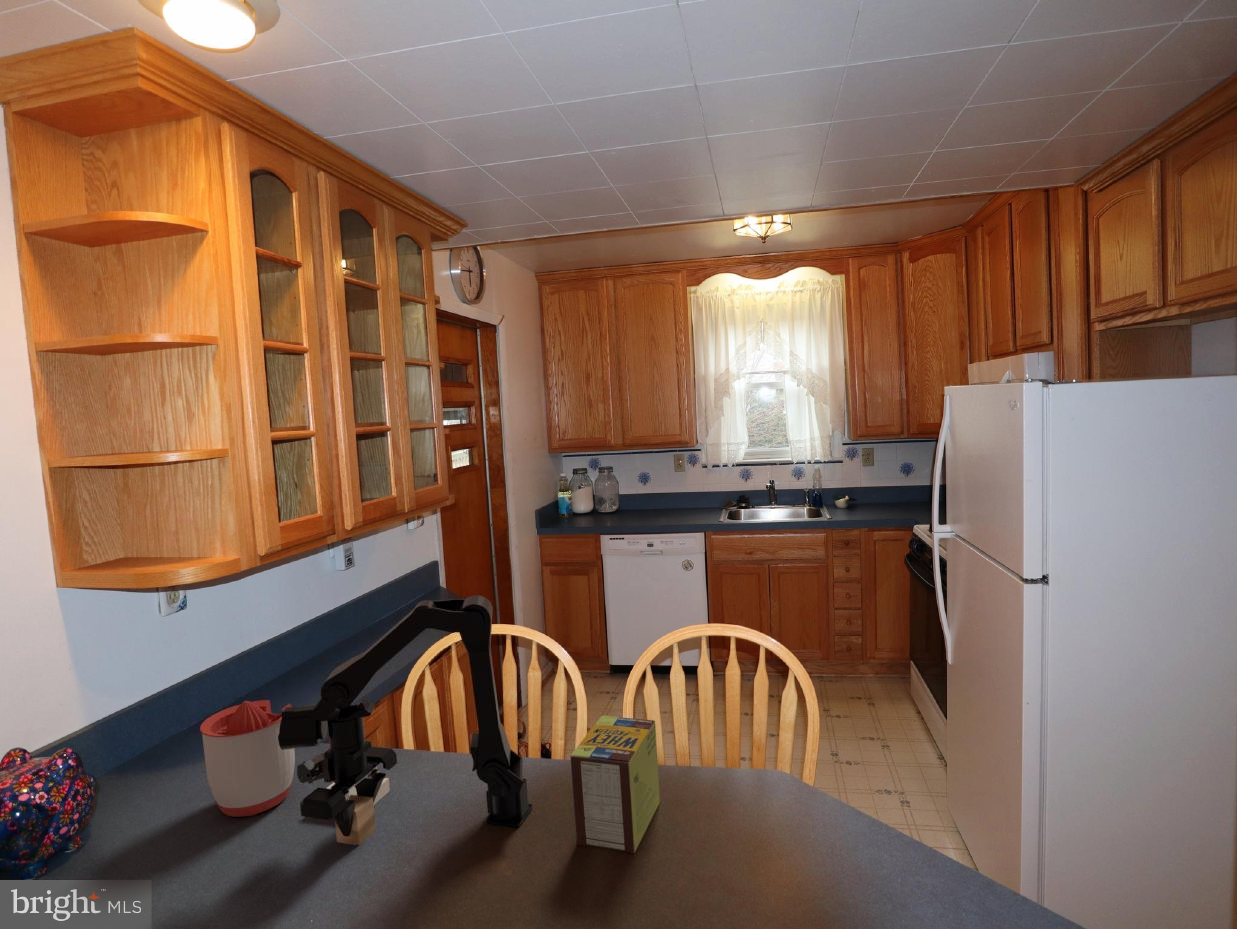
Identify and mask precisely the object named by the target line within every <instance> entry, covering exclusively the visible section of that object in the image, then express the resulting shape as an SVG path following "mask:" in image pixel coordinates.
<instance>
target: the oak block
mask: <svg viewBox="0 0 1237 929" xmlns="http://www.w3.org/2000/svg"><path fill="white" fill-rule="evenodd" d="M349 800H355V801H356V803H355V809H354V816H353V822H352V828H351V833H350V835H349V836H348V837H347V836H343V834H342V832H341V831H340V829H339V827H338V825H337V823H336V822H335V821H334V824H335V835H336V843H340V844H341V843H342V844H348V845H354V846H361V845H362V844H363V843H364V841H366V840H367V839H368V838H369V837H370V836H371V835H372V834H373V833H374V832H375V831H376V829H377V828H376V820H375V819H376V817H375V809H374V808H375V807H374V805H373V797H366V796H358V795H350V796H349Z"/></svg>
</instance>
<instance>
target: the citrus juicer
mask: <svg viewBox="0 0 1237 929" xmlns="http://www.w3.org/2000/svg"><path fill="white" fill-rule="evenodd" d="M286 707H293V706H292V704H291V703H288V704H287V705H285V706H284V707H283V708H281V712H282V711H283V710H284V709H285V708H286ZM281 719H282V716H281V713H280V714H276V713H273V712H272V709H271V701H270V699H268V700H267V699H266V700H264V699H262V700H256V701H255V700H254V701H249V700H244V701H243V702H241V704H237V705H234V706H231V707H228V708H225V709H223V710H220V711H219V712H216V713H214V714H212V715H211V716H209V717H208V718H206V719H204V721H202V723H201V724H200V728H199V731H200V733H201V734H202V735H201V736H202V737H201V738H202V744H203V751H204V761H205V762H204V763H205V770H206V771H205V772H206V776H207V781H208V785H209V787H210V790H211V793H212V795H213V797H214V799H215V803H216V805H217V806H218V809H220V810H221V812H222V813H223V814H224V815H226V816H228V817H237V818H239V817H240V818H241V817H253V816H255V815H257V814H259V813H262V812H263V813H264V812H265V811H268V810H270V809H272V808H274V807H275V806H277V805H279V804H280V803H282V802H283V801H284V800H285V799H286V798H287V796H289V792H290V790H291V786H292V784H293V778H294V772H295V764H296V757H295V756H296V754H295V749H286V750H282V749H281V748H280V746H279V742H278V735H279V729H280V723H281Z"/></svg>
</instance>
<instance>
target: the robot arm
mask: <svg viewBox="0 0 1237 929" xmlns="http://www.w3.org/2000/svg"><path fill="white" fill-rule="evenodd" d="M493 612H494V611H493V605H492V602H491V601H490V600H489V599H487V598H486V597H485V596H483V595H479V594H478V595H476V594H474V595H470V596H468V597H467V598H448V599H439V600H428V599H424V600H421V601H419V602H418V603H417V604H416V605H415V606H414V608H413V609H412V610H411V611H410V612H409V613H407V615H405V616H404V617H403V618H402V619H400V620H399V621H398V622H397V623H396V624H395V625H393V627H391V628H390V629H389V630H388V631H387V632H386V633H385V634H383V636H381V637H380V638H379V639H378V640H377V641H376V642H374V643H373V644H372V645H370V647H369V648H367V649H366V650H365V651H364V652H363V651H362V653H360V654H358V655H356V656H353V657H352V658H350V659H348V660H346V661H345V662H343V663H341V664H339V666H337V667H336V668H334V669H333V670H332V671H331V673H330V674H329V676H328V677H327V678H326V680H325V681H324V683H322V686H321V687H320V698H319V699H318V701H317V702H316V703H315V704H314V705H306V706H305V705H304V706H292V707H286V708H285V709H284V710H283V711H282V710H281V713H280V714H281V716H282V719H281V723H280V729H279V735H278V742H279V746H280V748H281V749H282V750H286V749H294V750H295V749H303V748H312V747H318V746H319V745H320V744H321V741H322V740H325V739H326V737H327V735H328V740H329V742H328V743H329V748H328V749H326V750H325V751H324V752H323V753H320V754H318V755H316V756H315V757H313V758H311V759H310V758H309V759H307V760H306V761H305V760H304V761H302V762H301V763H300V764H298V765H297V767H296V769H297V770H296V774H297V775H296V776H297V778H298V780H299V782H300V783H302V784H305V783H308V784H313V783H314V782H316V781H319V780H322V779H323V782H324V783H332V782H333V783H335V784H334V785H333V786H332V787H331V789H327V787H326V788H325V787H316V788H315V789H314V790H312V792H310V793H309V794H308V795H307V796H305V797H304V798H303V799H301V801H300V802H299V807H300V808H299V810H300V817H303V818H304V817H305V818H313V819H319V820H327V821H328V820H330V819H334V823H335V822H336V823H337V825H338V827H339V829H340V831H341V832H342V834H343V836H347V837H348V836H349V835H350V833H351V828H352V822H353V816H354V809H355V803H356V801H355V800H349V790H350V789H352V788H353V787H355V788H356V792H357V795H358V796H366V797H373V804H374V801H375V798H376V796H377V793H378V791H379V789H380V786H381V784H382V782H383V779H384V778H387V777H386V776H387V773H385V772H380V769H379V768H378V767H379V765H380V764H382V769H384V770H385V771H390V770H391V769H392V768H393V767H394V766H396V765H397V764H398V759H397V753H396V752H395V751H394V750H393V749H392V748H389V747H381V746H380V747H379V746H372V741H369V740H366V734H365V723H364V718H367V717H370V716H372V714H373V712H374V709H375V707H376V706H375V704H374V703H372V702H370V701H368V700H367V699H366V698H364V697H363V698H362V699H361V700H360V701H359V702H358V703H354V702H355V700H356V699H357V698H358V696H359V695H360V694H361V693H362V691H363V690H364V689H365V687H367V685H368V683H369V682H370V681H371V680H372V678H373V677H375V676H374V675H376V674H377V672H378V671H380V669H382V668H383V667H384V666H385V665H386V664H388V663H389V662H390V661H391V660H392V659H393V658H394V657H396V656H397V655H398V654H399V653H400V652H401V651H402V650H404V649H405V648H406V647H407V646H408V645H409V644H410V643H411V642H412V641H414V640H415V639H416V638H417V637H418V636H419V635H420V634H422V633H423V632H424V631H425V630H426V629H429V630H430V629H432V630H437V631H441V632H447V633H459V636H460V639H461V642H462V645H463V646H464V648H465V650H466V652H467V655H468V658H469V667H470V675H471V676H470V677H471V682H472V689H473V690H472V691H473V697H474V698H473V699H474V705H475V714H476V721H477V727H478V732H473V733H471V737H470V738H471V739H470V745H469V746H470V747H469V750H470V751H469V752H470V755H471V758H472V762H473V763H472V769H471V770H472V772H475V771H476V775H477V778H478V780H479V781H481V782H483V783H485V784H486V785H487V790H486V791H485V799H486V810H487V811H486V812H487V814H488V816H487V817H486V818H485V823H486V824H491V825H499V826H504V827H506V826H507V827H513V828H518V827H520V826H521V825H522V823H523V822H524V821H525V819H526V818H527V816H528V815H529V813H530V812H531V810H533V806H534V805H533V804H532V803H529V797H528V795H529V794H528V792H529V791H528V780H527V778H524V777H523V776H524V775H523V774H524V771H523V770H524V768H523V766H524V764H523V763H524V759H523V757H522V756H521V755H519V754H518V753H516V752H515V751H514V750H513V749H511V746H510V743H509V739H508V736H507V733H506V731H505V729H504V726H503V724H502V722H501V718H500V712H499V704H498V696H497V688H496V681H495V680H496V679H495V674H494V673H495V671H494V666H493V665H494V664H493V656H492V649H491V644H492V627H493ZM374 805H375V804H374Z"/></svg>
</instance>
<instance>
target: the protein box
mask: <svg viewBox="0 0 1237 929" xmlns="http://www.w3.org/2000/svg"><path fill="white" fill-rule="evenodd" d="M656 727H657V726H656V720H654V719H653V720H651V719H641V718H640V719H639V718H630V717H621V716H620V717H619V716H611V715H600V717H599V718H598V720H597V721H596V722H595V724H594V725H593V726H592V727H591V729H590V730H589V731H588V732H587V734H586V735H585V737H583V739H582V740H581V741H580V742H579V744H578V745H577V746H576V748H575V749H574V750H573V751H572V753H571V754H570V755H569V757H570V769H571V781H572V794H573V810H574V824H575V835H576V844H577V845H580V846H586V847H587V846H588V847H592V848H593V847H594V848H600V849H606V850H613V851H619V852H624V853H630V854H631V853H632V854H635V853H636V851H637V849H638V847H639V845H640V843H641V841H642V839H643V837H644V835H645V833H646V831H647V830H648V827H649V825H650V823H651V821H652V819H653V817H654V815H655V813H656V811H657V809H658V807H659V806H660V805H659V804H661V801H660V797H661V796H660V784H659V781H660V780H659V779H660V778H659V763H658V762H659V761H658V747H657V732H656Z"/></svg>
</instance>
